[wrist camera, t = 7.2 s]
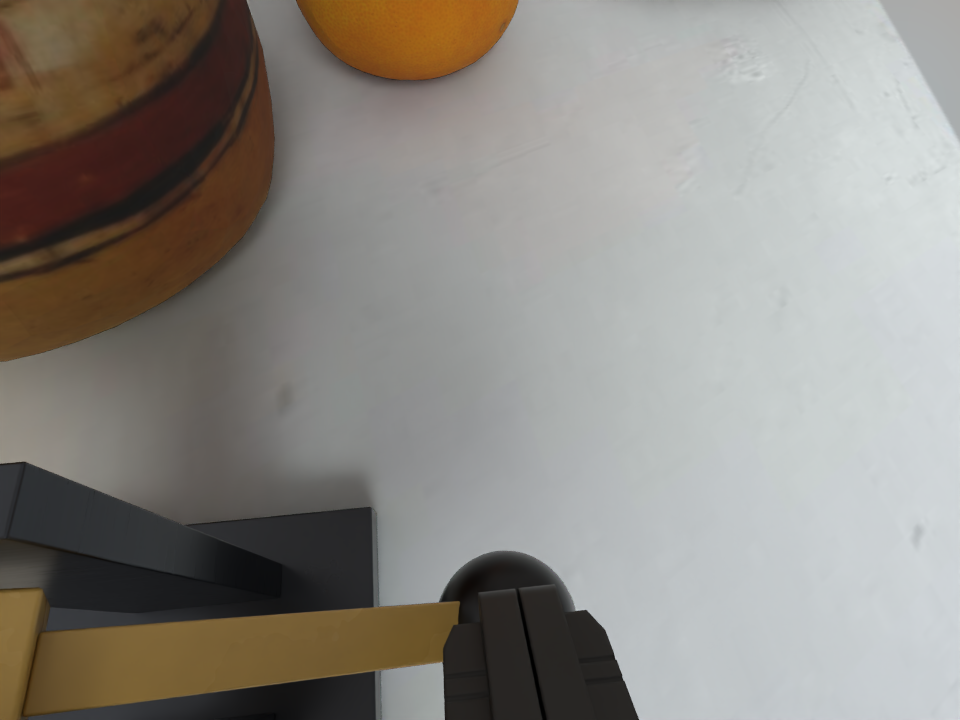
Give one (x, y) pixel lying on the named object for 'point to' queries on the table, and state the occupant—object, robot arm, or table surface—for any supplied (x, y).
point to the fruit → (408, 33)
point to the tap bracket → (189, 584)
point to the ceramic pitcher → (122, 157)
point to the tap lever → (234, 644)
